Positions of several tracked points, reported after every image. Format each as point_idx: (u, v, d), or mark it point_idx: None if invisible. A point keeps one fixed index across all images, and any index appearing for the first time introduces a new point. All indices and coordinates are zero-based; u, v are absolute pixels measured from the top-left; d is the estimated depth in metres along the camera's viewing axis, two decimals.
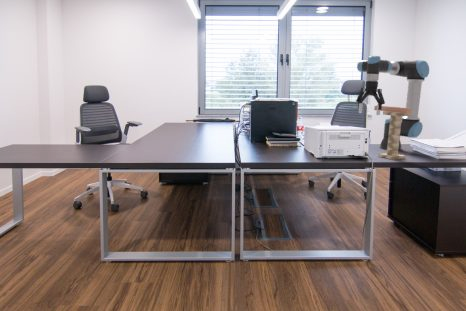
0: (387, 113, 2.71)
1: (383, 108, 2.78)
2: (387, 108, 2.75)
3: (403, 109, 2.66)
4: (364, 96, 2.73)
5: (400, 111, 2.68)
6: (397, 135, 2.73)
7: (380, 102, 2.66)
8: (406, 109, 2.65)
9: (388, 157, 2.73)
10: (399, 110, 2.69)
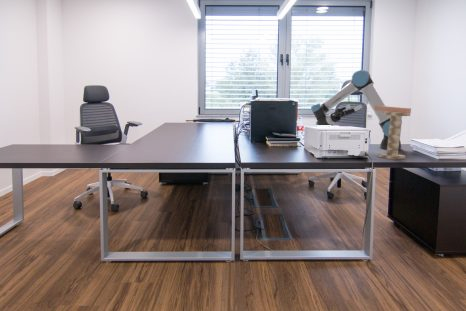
0: (387, 113, 2.71)
1: (383, 108, 2.78)
2: (387, 108, 2.75)
3: (403, 109, 2.66)
4: (347, 113, 3.08)
5: (400, 111, 2.68)
6: (397, 135, 2.73)
7: None
8: (406, 109, 2.65)
9: (388, 157, 2.73)
10: (399, 110, 2.69)
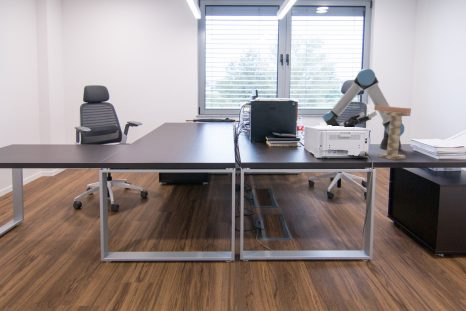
0: (387, 113, 2.71)
1: (383, 108, 2.78)
2: (387, 108, 2.75)
3: (403, 109, 2.66)
4: (361, 121, 2.99)
5: (400, 111, 2.68)
6: (397, 135, 2.73)
7: (354, 117, 2.90)
8: (406, 109, 2.65)
9: (388, 157, 2.73)
10: (399, 110, 2.69)
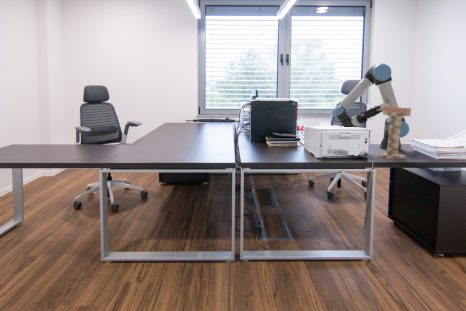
0: (387, 113, 2.71)
1: (383, 108, 2.78)
2: (387, 108, 2.75)
3: (403, 109, 2.66)
4: (373, 114, 2.88)
5: (400, 111, 2.68)
6: (397, 135, 2.73)
7: None
8: (406, 109, 2.65)
9: (388, 157, 2.73)
10: (399, 110, 2.69)
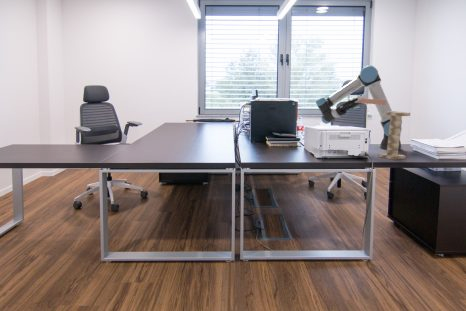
0: (387, 113, 2.71)
1: (360, 100, 2.92)
2: (364, 100, 2.89)
3: (378, 101, 2.80)
4: (352, 106, 3.02)
5: (376, 103, 2.82)
6: (397, 135, 2.73)
7: None
8: (381, 101, 2.79)
9: (388, 157, 2.73)
10: (375, 102, 2.83)
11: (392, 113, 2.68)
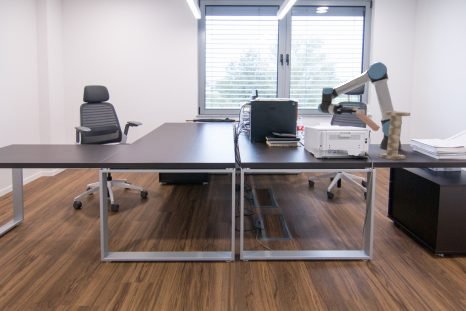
0: (387, 113, 2.71)
1: (358, 114, 2.94)
2: (361, 116, 2.92)
3: (372, 126, 2.85)
4: None
5: (369, 126, 2.87)
6: (397, 135, 2.73)
7: None
8: (375, 127, 2.84)
9: (388, 157, 2.73)
10: (369, 125, 2.88)
11: (392, 113, 2.68)
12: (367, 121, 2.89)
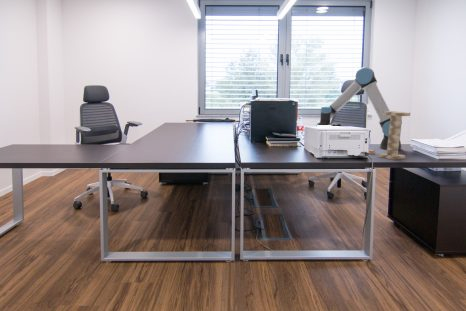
0: (387, 113, 2.71)
1: None
2: None
3: None
4: None
5: None
6: (397, 135, 2.73)
7: None
8: (369, 151, 2.88)
9: (388, 157, 2.73)
10: None
11: (392, 113, 2.68)
12: None
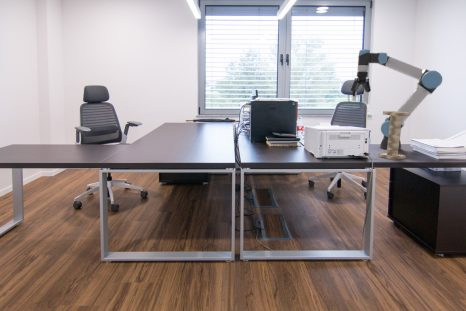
0: (387, 113, 2.71)
1: None
2: None
3: None
4: (363, 85, 3.11)
5: None
6: (397, 135, 2.73)
7: (355, 89, 3.04)
8: None
9: (388, 157, 2.73)
10: None
11: (392, 113, 2.68)
12: None
